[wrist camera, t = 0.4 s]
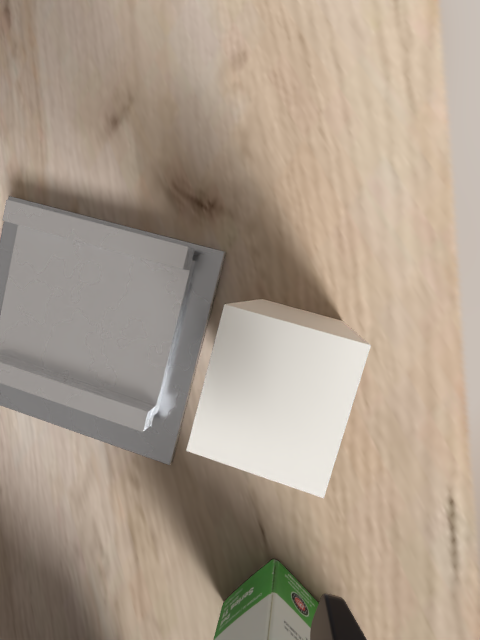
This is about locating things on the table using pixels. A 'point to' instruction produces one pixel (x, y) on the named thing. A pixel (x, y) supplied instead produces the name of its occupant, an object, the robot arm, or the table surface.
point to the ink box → (267, 608)
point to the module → (278, 393)
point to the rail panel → (101, 325)
